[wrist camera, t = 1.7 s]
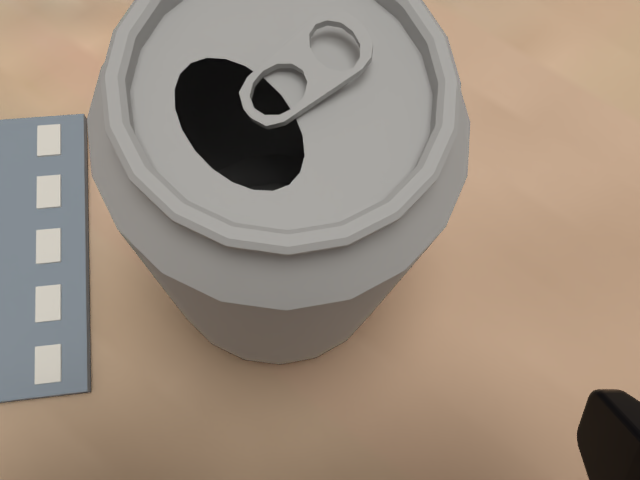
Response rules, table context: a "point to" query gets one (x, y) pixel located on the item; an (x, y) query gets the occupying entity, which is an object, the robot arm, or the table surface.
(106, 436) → the table surface
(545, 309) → the table surface
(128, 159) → the can
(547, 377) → the table surface
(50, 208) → the mat
